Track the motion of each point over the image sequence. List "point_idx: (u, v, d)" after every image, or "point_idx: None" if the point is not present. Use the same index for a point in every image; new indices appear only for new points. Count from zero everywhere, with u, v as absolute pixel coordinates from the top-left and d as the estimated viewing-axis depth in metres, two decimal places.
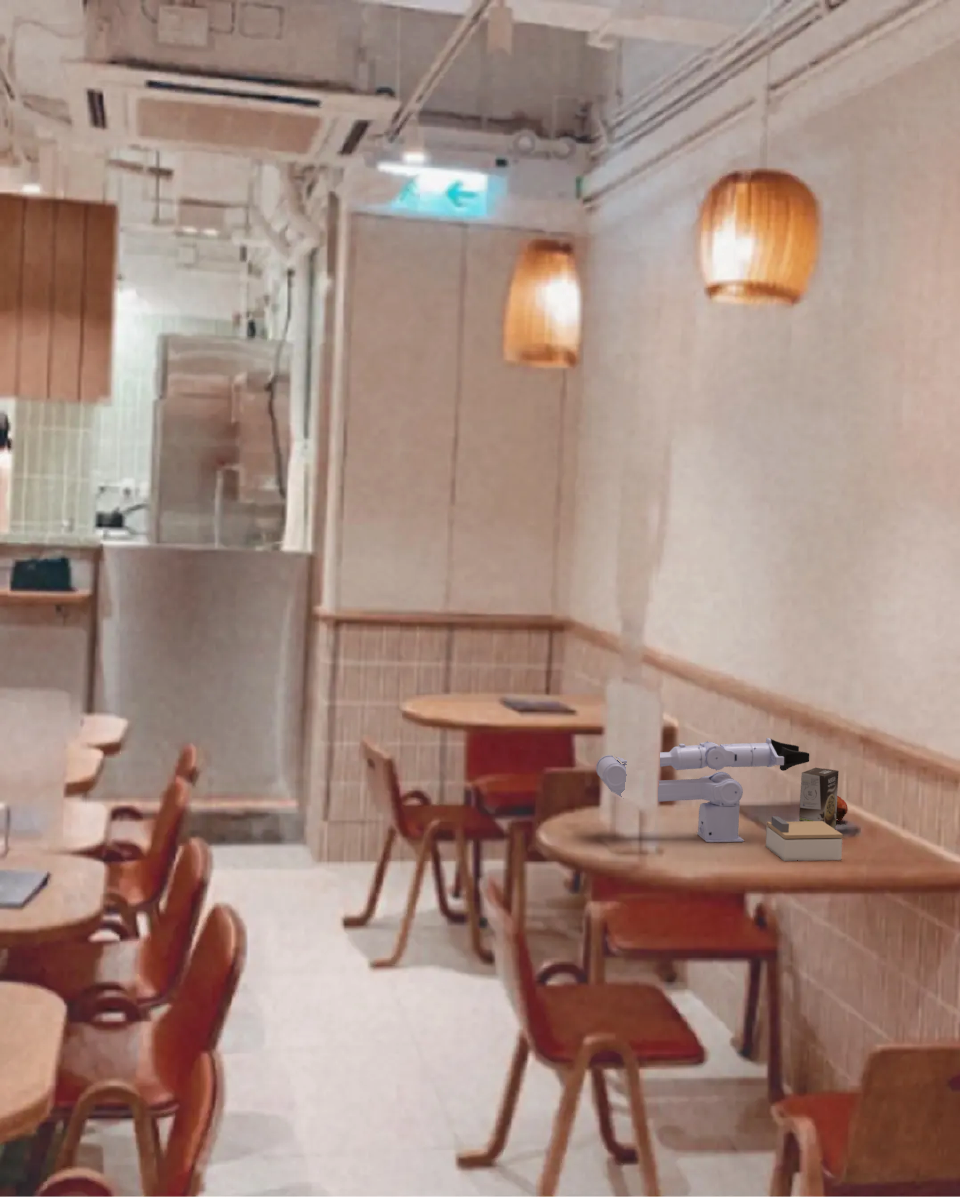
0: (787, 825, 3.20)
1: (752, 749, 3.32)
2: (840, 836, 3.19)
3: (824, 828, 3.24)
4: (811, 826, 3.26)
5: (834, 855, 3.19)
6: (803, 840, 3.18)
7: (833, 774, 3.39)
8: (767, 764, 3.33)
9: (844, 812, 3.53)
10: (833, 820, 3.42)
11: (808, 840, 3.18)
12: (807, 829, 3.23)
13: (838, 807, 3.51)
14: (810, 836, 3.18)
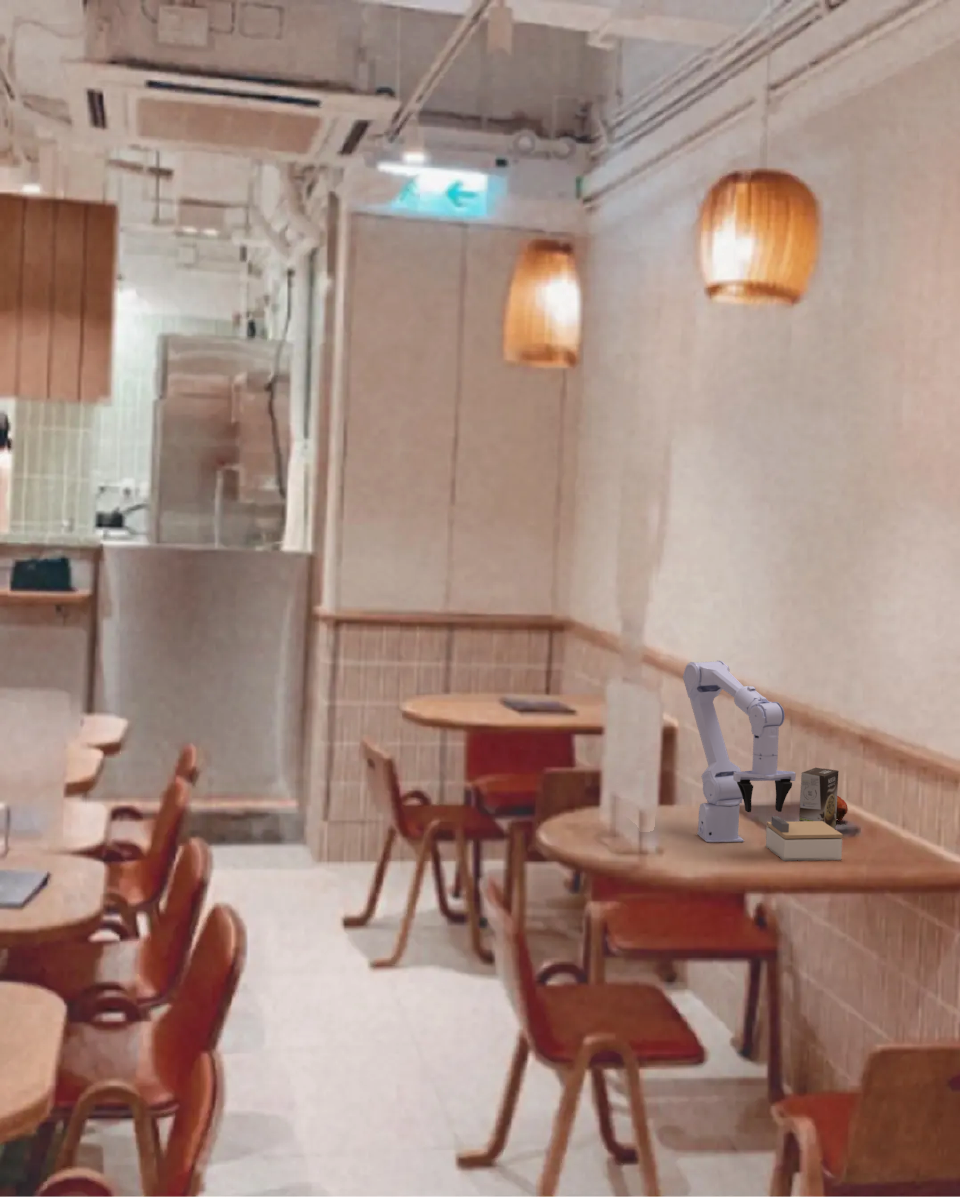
0: (787, 825, 3.20)
1: (759, 755, 3.19)
2: (840, 836, 3.19)
3: (824, 828, 3.24)
4: (811, 826, 3.26)
5: (834, 855, 3.19)
6: (803, 840, 3.18)
7: (833, 774, 3.39)
8: None
9: (844, 812, 3.53)
10: (833, 820, 3.42)
11: (808, 840, 3.18)
12: (807, 829, 3.23)
13: (838, 807, 3.51)
14: (810, 836, 3.18)
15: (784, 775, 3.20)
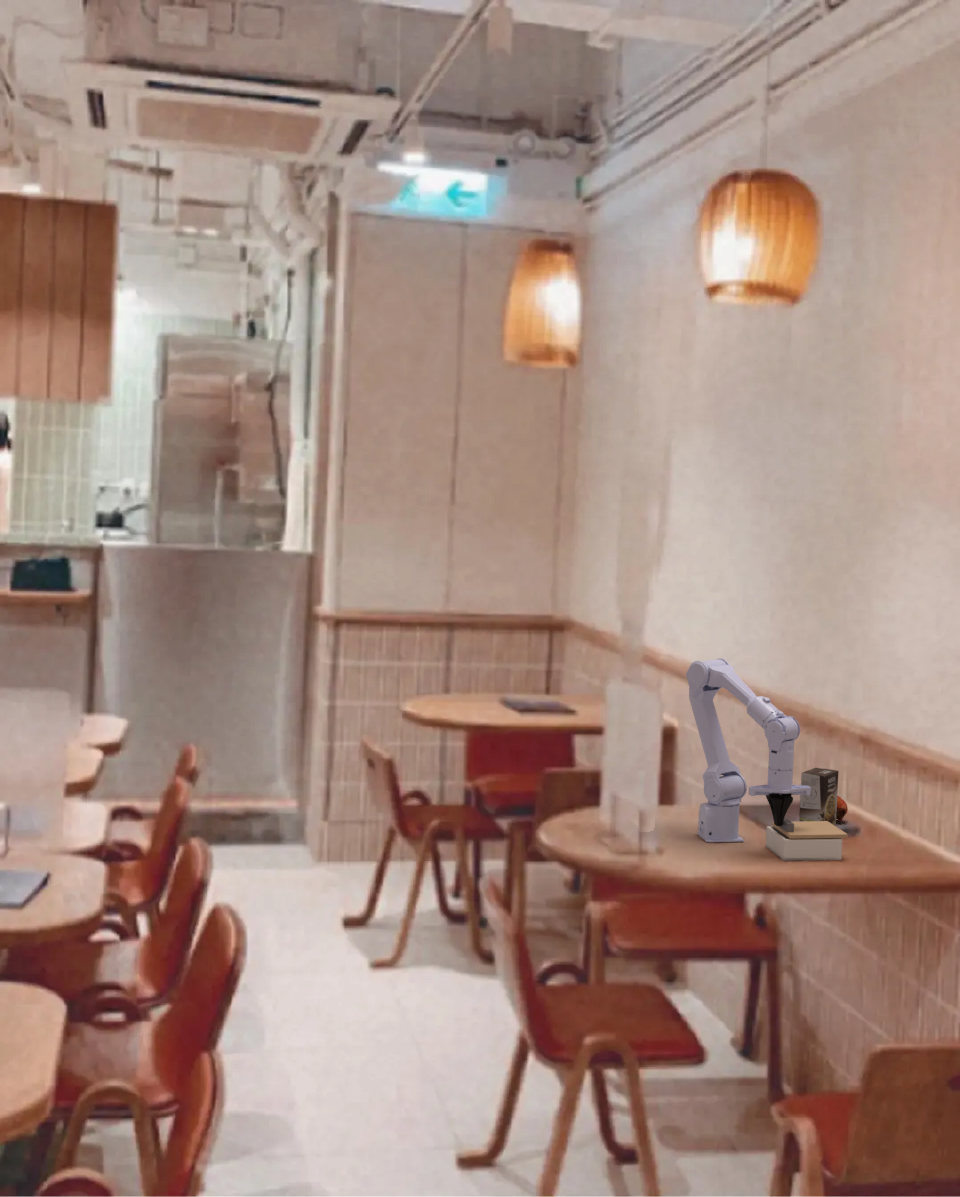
0: (792, 825, 3.20)
1: (774, 770, 3.20)
2: (845, 836, 3.19)
3: (829, 828, 3.24)
4: (816, 826, 3.26)
5: (834, 855, 3.19)
6: (803, 840, 3.18)
7: (833, 774, 3.39)
8: None
9: (844, 812, 3.53)
10: (833, 820, 3.42)
11: (808, 840, 3.18)
12: (812, 829, 3.23)
13: (838, 807, 3.51)
14: (815, 836, 3.18)
15: (799, 790, 3.21)
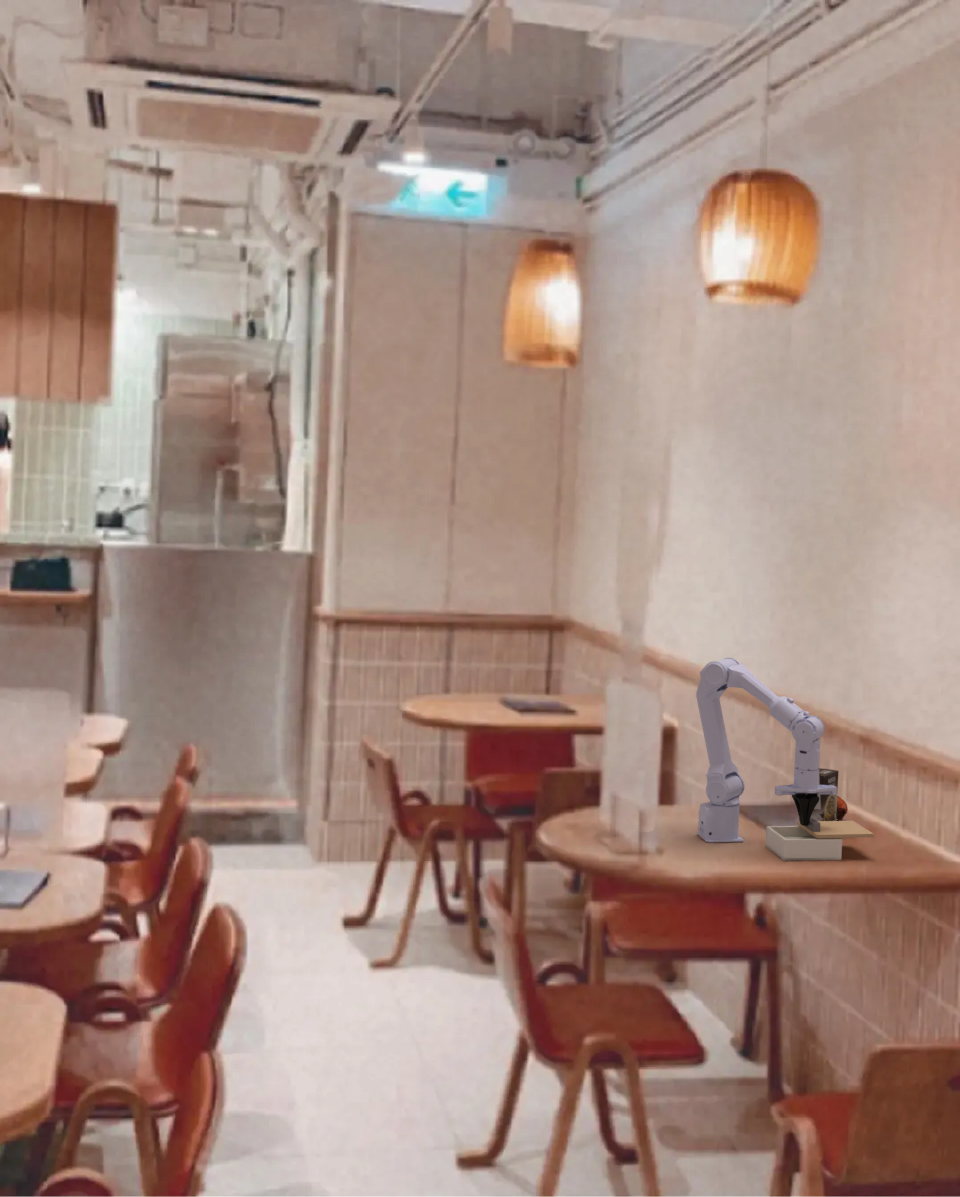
0: (819, 825, 3.21)
1: (800, 770, 3.21)
2: (871, 836, 3.20)
3: (855, 828, 3.25)
4: (842, 826, 3.27)
5: (834, 855, 3.19)
6: (803, 840, 3.18)
7: (833, 774, 3.39)
8: None
9: (844, 812, 3.53)
10: (833, 820, 3.42)
11: (808, 840, 3.18)
12: (838, 829, 3.24)
13: (838, 807, 3.51)
14: (842, 835, 3.19)
15: (825, 789, 3.22)
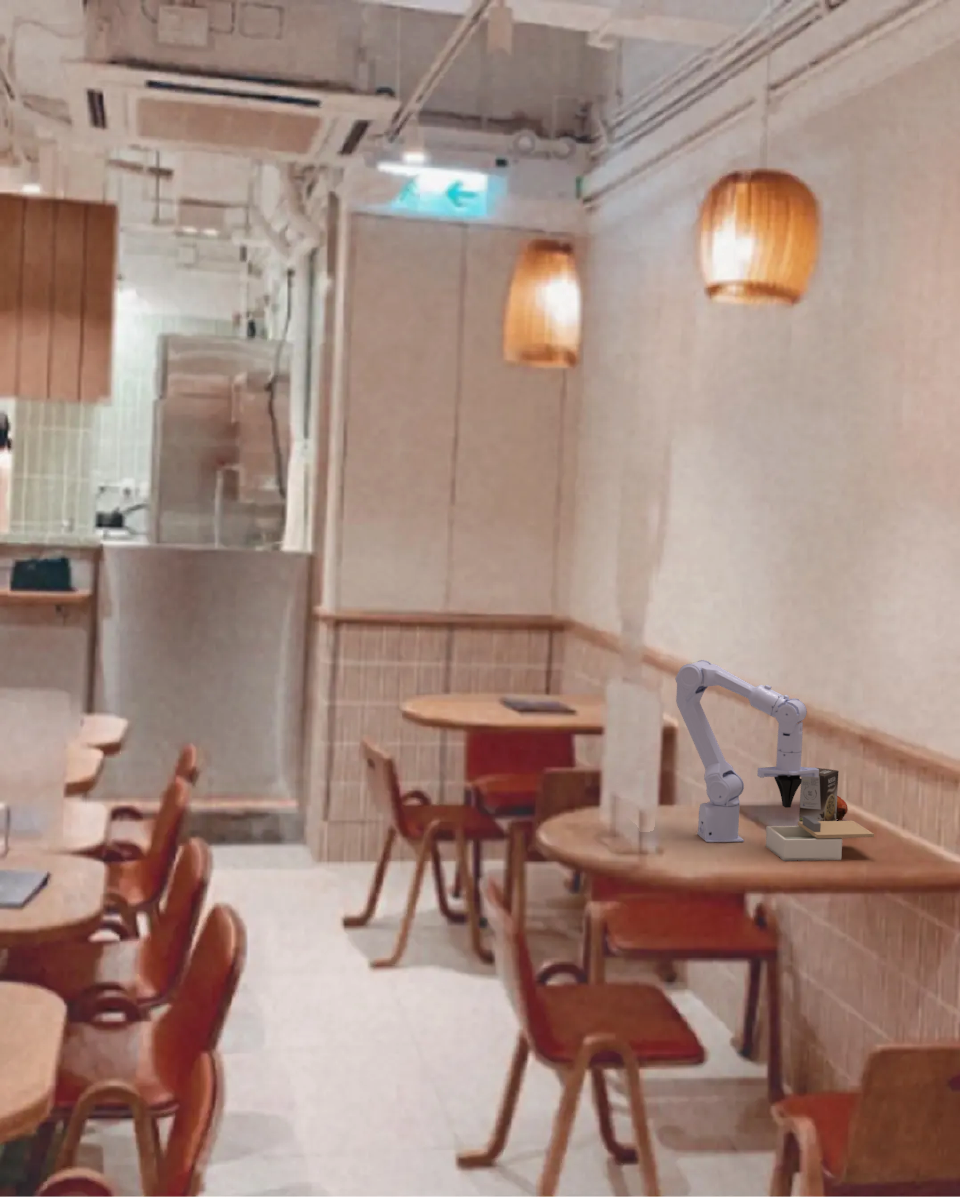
0: (819, 825, 3.21)
1: (783, 752, 3.24)
2: (872, 835, 3.20)
3: (855, 828, 3.25)
4: (842, 826, 3.27)
5: (834, 855, 3.19)
6: (803, 840, 3.18)
7: (833, 774, 3.39)
8: None
9: (844, 812, 3.53)
10: (833, 820, 3.42)
11: (808, 840, 3.18)
12: (838, 829, 3.24)
13: (838, 807, 3.51)
14: (842, 835, 3.19)
15: (807, 771, 3.25)
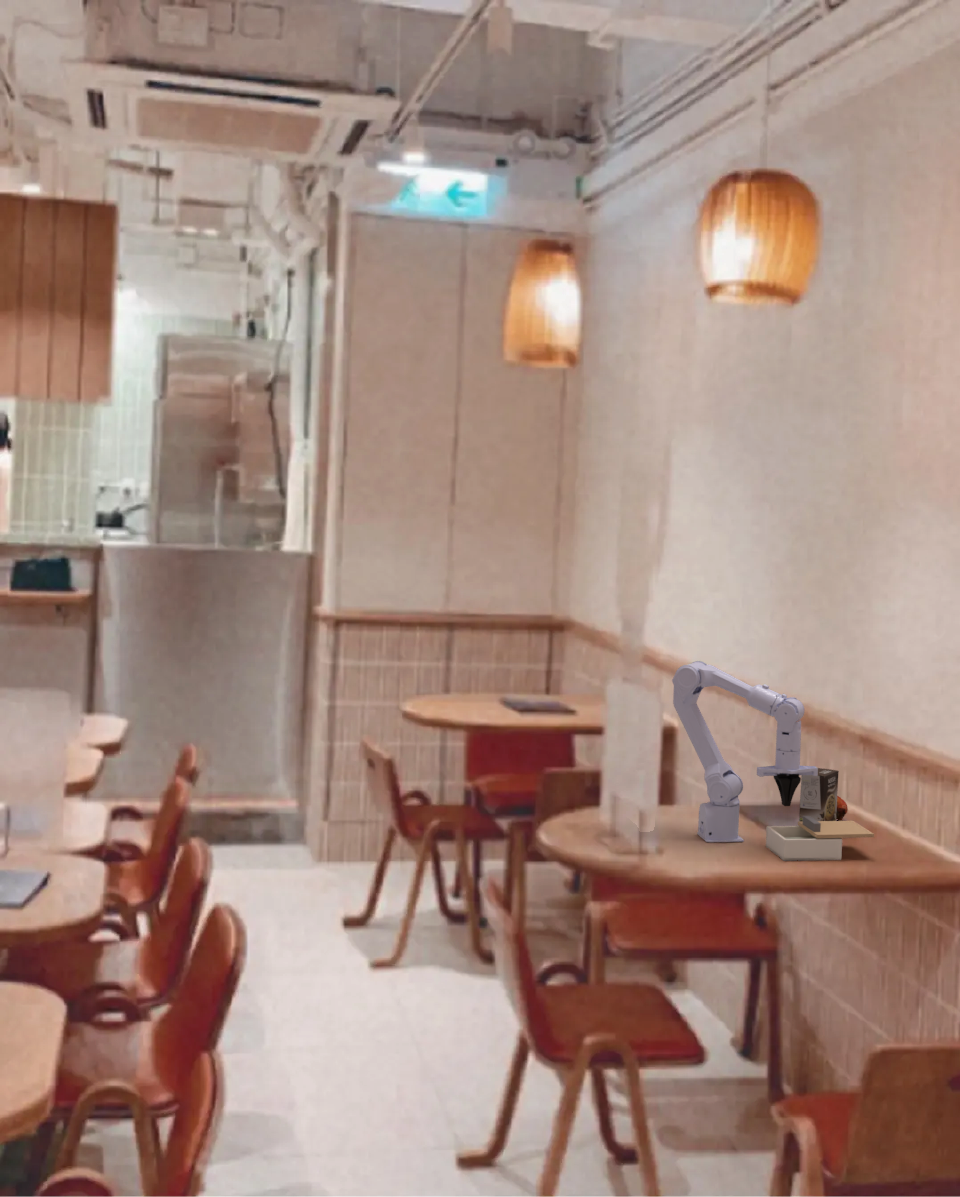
0: (819, 825, 3.21)
1: (782, 751, 3.25)
2: (872, 835, 3.20)
3: (855, 828, 3.25)
4: (842, 826, 3.27)
5: (834, 855, 3.19)
6: (803, 840, 3.18)
7: (833, 774, 3.39)
8: None
9: (844, 812, 3.53)
10: (833, 820, 3.42)
11: (808, 840, 3.18)
12: (838, 829, 3.24)
13: (838, 807, 3.51)
14: (842, 835, 3.19)
15: (806, 770, 3.26)
